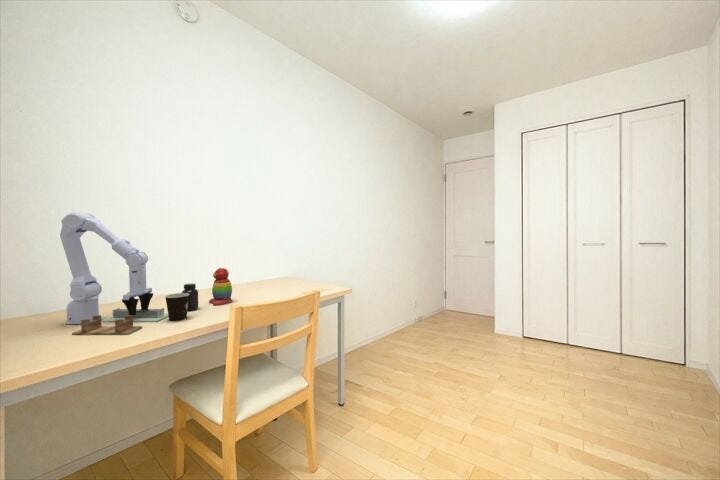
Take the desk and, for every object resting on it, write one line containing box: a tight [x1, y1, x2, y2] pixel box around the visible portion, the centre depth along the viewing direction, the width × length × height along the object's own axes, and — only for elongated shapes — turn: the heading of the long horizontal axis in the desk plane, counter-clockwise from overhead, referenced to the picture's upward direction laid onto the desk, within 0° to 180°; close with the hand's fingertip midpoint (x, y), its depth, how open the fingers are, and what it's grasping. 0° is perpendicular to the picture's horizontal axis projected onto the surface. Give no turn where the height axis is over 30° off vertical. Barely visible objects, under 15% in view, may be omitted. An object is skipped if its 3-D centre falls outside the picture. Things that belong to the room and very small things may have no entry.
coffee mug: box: [165, 292, 189, 322], centre depth 129 cm, size 12×9×10 cm
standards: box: [71, 314, 143, 336], centre depth 112 cm, size 20×7×5 cm, turn 91°
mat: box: [102, 313, 169, 323], centre depth 128 cm, size 22×10×1 cm, turn 91°
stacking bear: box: [208, 267, 233, 307], centre depth 155 cm, size 11×10×18 cm
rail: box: [111, 307, 165, 318], centre depth 128 cm, size 19×3×3 cm, turn 91°
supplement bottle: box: [181, 283, 199, 312], centre depth 142 cm, size 7×7×12 cm
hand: (138, 312), depth 128 cm, fingers open, 7 cm apart
